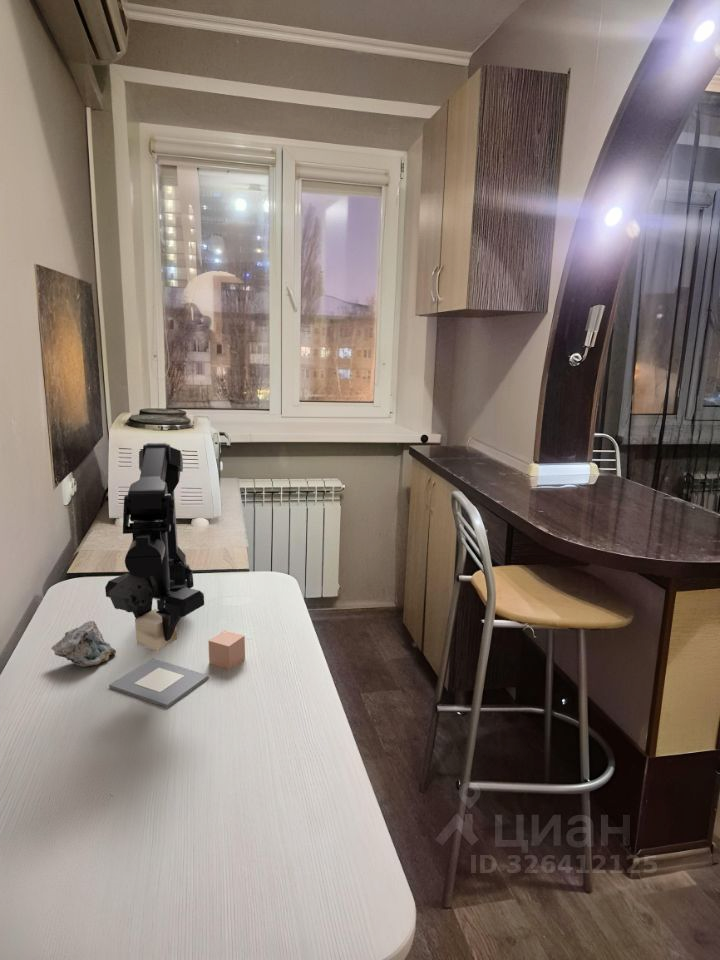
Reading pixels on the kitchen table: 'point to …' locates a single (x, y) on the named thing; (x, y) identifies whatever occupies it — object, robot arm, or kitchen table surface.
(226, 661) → the terracotta cube
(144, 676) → the slate board
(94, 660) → the mineral specimen
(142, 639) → the beech cube
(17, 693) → the kitchen table surface
